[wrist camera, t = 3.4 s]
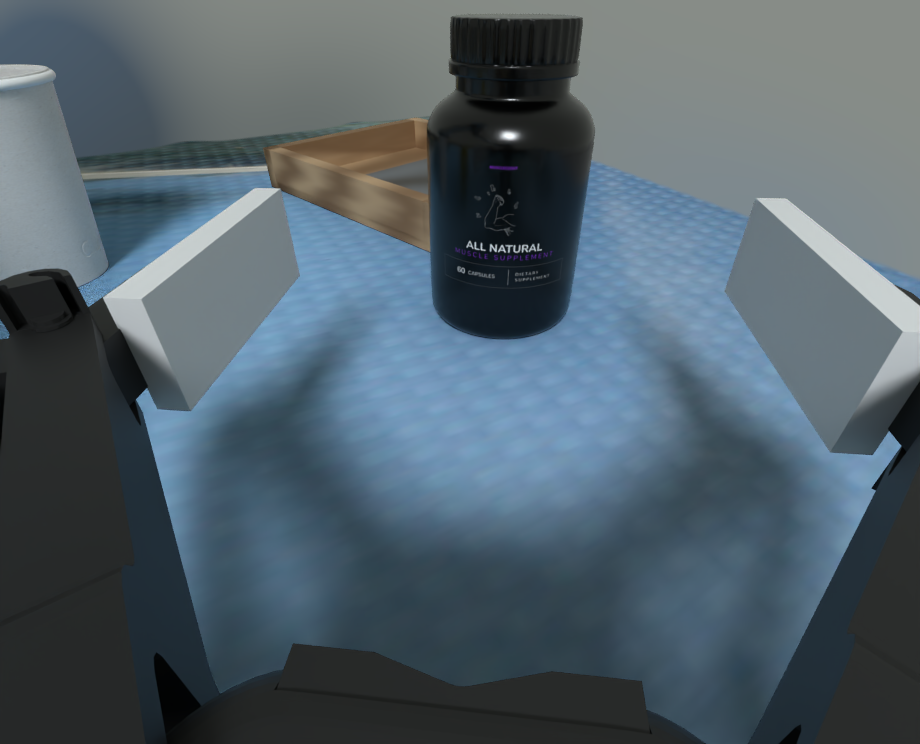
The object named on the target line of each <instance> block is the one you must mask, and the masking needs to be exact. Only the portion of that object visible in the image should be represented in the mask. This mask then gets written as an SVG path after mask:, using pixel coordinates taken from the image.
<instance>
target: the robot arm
mask: <svg viewBox="0 0 920 744" xmlns="http://www.w3.org/2000/svg"><path fill="white" fill-rule="evenodd" d="M299 276H300V274H299V270H298V265H297V261H296V256H295V252H294V247H293V243H292V238H291V234H290V229H289V225H288V220H287V216H286V211H285V207H284V202H283V198H282V193H281V189H276V188H255V189H253V190H252V191H250V192H249V193H248V194H246V195H245V196H243V197H242V198H241V199H239V200H238V201H237V202H235V203H234V204H232V205H231V206H230V207H228V208H227V209H225V210H224V211H223V212H221V213H220V214H218V215H217V216H216V217H214V218H213V219H211V220H210V221H209V222H207V223H206V224H205V225H203V226H202V227H200V228H199V229H198V230H196V231H195V232H193V233H192V234H191V235H189V236H188V237H186V238H185V239H184V240H182V241H181V242H179V243H178V244H177V245H175V246H174V247H172V248H171V249H170V250H168V251H167V252H166V253H164V254H163V255H161V256H160V257H159V258H157V259H156V260H154V261H153V262H152V263H150V264H149V265H147V266H146V267H144V268H143V269H141V270H140V271H138V272H137V273H136V274H134V275H133V276H131V277H130V278H129V279H127V280H126V281H124V282H123V283H122V284H120V285H119V286H118V287H117V288H115V289H113V290H112V291H111V292H109V293H108V294H106V295H105V296H104V297H102V298H101V299H99V300H98V301H97V302H95V303H94V304H92V305H91V306H90V307H88V306H87V304H86V302H85V300H84V299H83V297H82V295H81V293H80V291H79V289H78V287H77V285H76V283H75V281H74V279H73V277H72V275H71V274H70V273H69V272H68V271H67V270H63V269H58V268H57V269H40V270H33V271H28V272H24V273H20V274H17V275H13V276H11V277H8V278H6V279H3V280H1V281H0V319H1V321H2V322H3V324H4V325H5V327H6V329H7V330H8V332H9V333H10V335H9V339H2V340H0V744H706V743H704V742H703V741H701V740H700V739H698V738H697V737H695V736H694V735H693V734H691V733H690V732H688V731H687V730H685V729H684V728H682V727H681V726H679V725H677V724H675V723H673V722H671V721H670V720H668V719H666V718H664V717H662V716H660V715H658V714H656V713H653V712H651V711H648V710H646V704H645V698H644V692H643V686H642V681H636V680H627V679H617V678H608V677H599V676H590V675H580V674H571V673H562V672H553V671H552V672H546V673H540V674H535V675H529V676H523V677H518V678H512V679H506V680H501V681H495V682H489V683H484V684H478V685H472V686H465V687H461V686H454V685H451V684H449V683H446V682H444V681H442V680H439V679H437V678H434V677H432V676H430V675H427V674H425V673H422V672H420V671H418V670H415V669H413V668H411V667H408V666H406V665H403V664H401V663H399V662H396V661H394V660H392V659H389V658H387V657H384V656H382V655H380V654H377V653H375V652H367V651H358V650H349V649H340V648H330V647H321V646H312V645H303V644H293V645H292V648H291V650H290V653H289V656H288V659H287V661H286V664H285V667H284V670H279V671H274V672H271V673H268V674H265V675H261V676H258V677H255V678H252V679H250V680H248V681H246V682H243V683H241V684H239V685H236V686H234V687H232V688H230V689H229V690H227V691H225V692H223V693H222V694H220V693H219V691H218V689H217V687H216V684H215V682H214V680H213V677H212V674H211V671H210V668H209V665H208V661H207V657H206V654H205V650H204V646H203V642H202V638H201V634H200V631H199V627H198V623H197V619H196V615H195V611H194V608H193V604H192V600H191V596H190V592H189V588H188V585H187V581H186V577H185V573H184V569H183V565H182V562H181V558H180V554H179V550H178V546H177V542H176V539H175V535H174V531H173V527H172V523H171V519H170V516H169V512H168V508H167V504H166V500H165V496H164V492H163V489H162V485H161V481H160V477H159V473H158V469H157V466H156V462H155V458H154V454H153V450H152V446H151V443H150V439H149V435H148V431H147V427H146V423H145V420H144V416H143V412H142V410H141V408H140V406H139V405H138V403H137V401H136V399H137V398H138V397H139V395H140V394H141V393H142V392H143V391H144V390H145V389H146V388H148V391H149V393H150V395H151V397H152V399H153V401H154V403H155V405H156V407H157V409H163V410H179V411H191V410H192V409H193V408H194V406H195V405H196V404H197V403H198V401H199V400H200V399H201V398H202V396H203V395H204V394H205V393H206V392H207V390H208V389H209V388H210V387H211V385H212V384H213V383H214V382H215V380H216V379H217V378H218V377H219V375H220V374H221V373H222V372H223V370H224V369H225V368H226V367H227V365H228V364H229V363H230V362H231V360H232V359H233V358H234V357H235V355H236V354H237V353H238V352H239V351H240V349H241V348H242V347H243V346H244V344H245V343H246V342H247V341H248V339H249V338H250V337H251V336H252V334H253V333H254V332H255V331H256V329H257V328H258V327H259V326H260V324H261V323H262V322H263V321H264V319H265V318H266V317H267V316H268V315H269V313H270V312H271V311H272V310H273V308H274V307H275V306H276V305H277V303H278V302H279V301H280V300H281V298H282V297H283V296H284V295H285V293H286V292H287V291H288V290H289V288H290V287H291V286H292V285H293V283H294V282H295V281H296V280H297V279H298V277H299ZM725 293H726V294H727V296H728V297H729V299H730V300H731V302H732V303H733V305H734V306H735V308H736V309H737V311H738V312H739V314H740V315H741V317H742V319H743V320H744V322H745V323H746V325H747V326H748V328H749V329H750V331H751V332H752V334H753V335H754V337H755V338H756V340H757V341H758V343H759V344H760V346H761V348H762V349H763V351H764V352H765V354H766V355H767V357H768V358H769V360H770V361H771V363H772V364H773V366H774V367H775V369H776V370H777V372H778V373H779V375H780V377H781V378H782V380H783V381H784V383H785V384H786V386H787V387H788V389H789V390H790V392H791V393H792V395H793V396H794V398H795V399H796V401H797V402H798V404H799V406H800V407H801V409H802V410H803V412H804V413H805V415H806V416H807V418H808V419H809V421H810V422H811V424H812V425H813V427H814V428H815V430H816V431H817V433H818V435H819V436H820V438H821V439H822V441H823V442H824V444H825V445H826V447H827V448H828V450H829V451H830V452H832V453H848V454H863V455H873V454H874V452H875V451H876V449H877V448H878V446H879V445H880V443H881V442H882V440H883V439H884V437H885V436H886V435H887V433H888V432H889V431H890V432H891V434H892V435H893V436H894V437H895V438H896V440H897V441H898V442H899V443H900V445H901V448H900V449H899V450H898V452H897V453H896V455H895V456H894V457H893V459H892V460H891V462H890V463H889V464H888V466H887V467H886V469H885V470H884V471H883V473H882V474H881V476H880V477H879V478H878V480H877V481H876V483H875V484H874V485H873V487H872V489H874V490H876V492H875V494H874V496H873V498H872V500H871V502H870V504H869V506H868V508H867V510H866V512H865V514H864V516H863V518H862V520H861V522H860V524H859V526H858V528H857V530H856V532H855V534H854V536H853V538H852V540H851V542H850V544H849V546H848V548H847V550H846V551H845V553H844V555H843V557H842V559H841V561H840V563H839V565H838V567H837V569H836V571H835V573H834V575H833V577H832V579H831V581H830V583H829V585H828V587H827V589H826V591H825V593H824V595H823V597H822V599H821V601H820V603H819V605H818V607H817V609H816V611H815V613H814V615H813V617H812V619H811V621H810V623H809V625H808V627H807V629H806V631H805V633H804V635H803V637H802V639H801V641H800V643H799V645H798V647H797V649H796V651H795V653H794V655H793V657H792V659H791V661H790V663H789V665H788V667H787V669H786V671H785V673H784V675H783V677H782V679H781V681H780V683H779V685H778V687H777V689H776V691H775V693H774V695H773V697H772V699H771V701H770V703H769V705H768V707H767V709H766V711H765V713H764V715H763V717H762V719H761V721H760V723H759V725H758V727H757V728H756V730H755V732H754V734H753V736H752V737H751V739H750V741H749V742H748V744H920V299H919V298H918V297H916V296H915V295H914V294H913V293H911V292H909V291H906V290H904V289H902V288H900V287H898V286H896V285H894V284H892V283H891V282H889V281H888V280H887V279H886V278H884V277H883V276H882V275H881V274H879V273H878V272H877V271H876V270H874V269H873V268H872V267H871V266H869V265H868V264H867V263H866V262H864V261H863V260H862V259H861V258H859V257H858V256H857V255H856V254H855V253H853V252H852V251H851V250H849V249H848V248H847V247H846V246H845V245H843V244H842V243H841V242H839V241H838V240H837V239H836V238H835V237H833V236H832V235H831V234H830V233H828V232H827V231H826V230H825V229H823V228H822V227H821V226H820V225H818V224H817V223H816V222H815V221H813V220H812V219H811V218H810V217H808V216H807V215H806V214H805V213H803V212H802V211H801V210H800V209H798V208H797V207H796V206H795V205H793V204H792V203H791V202H790V201H788V200H787V199H777V198H776V199H775V198H756V199H755V202H754V205H753V208H752V211H751V214H750V217H749V220H748V223H747V226H746V229H745V232H744V235H743V238H742V241H741V244H740V247H739V250H738V253H737V256H736V258H735V261H734V264H733V267H732V270H731V273H730V276H729V279H728V282H727V285H726V288H725Z"/></svg>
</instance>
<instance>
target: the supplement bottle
mask: <svg viewBox="0 0 920 744" xmlns="http://www.w3.org/2000/svg"><path fill="white" fill-rule="evenodd" d="M582 19H583V18H581V17H578V16H570V15H551V14H468V15H456V16H452V17H451V22H450V34H451V35H450V41H451V43H450V45H451V47H450V48H451V58H450V59H449V73H450V74H452V75H455V76H456V89H455V91H454V92H453V93H451V94H450V95H449V96H447V97H446V98H445V99H443V100H442V101H441V102H440V103H439V104H438V105H437V106H436V107H435V109H434V110H433V112H432V114H431V116H430V118H429V120H428V124H427V170H428V199H429V229H430V258H431V282H432V298H433V304H434V306H435V309H436V310H437V312H438V313H439V315H440V316H441V317H442V318H443V319H444V320H445V321H446V322H447V323H449V324H450V325H452V326H453V327H455V328H457V329H459V330H461V331H464V332H466V333H469V334H473V335H477V336H481V337H487V338H498V339H511V338H521V337H527V336H531V335H535V334H538V333H541V332H543V331H545V330H547V329H549V328H551V327H552V326H554V325H555V324H556V323H558V322H559V321H560V320H561V319H562V317H563V316H564V315H565V313H566V311H567V309H568V306H569V301H570V296H571V290H572V284H573V278H574V271H575V264H576V258H577V251H578V245H579V238H580V231H581V225H582V218H583V212H584V205H585V198H586V192H587V185H588V178H589V172H590V165H591V159H592V152H593V145H594V136H595V127H594V123H593V119H592V117H591V114H590V112H589V111H588V109H587V108H586V107H585V105H584V104H583V103H582V102H580V101H579V100H578V99H577V98H576V97H574V96H573V95H572V94H571V93H570V81H571V77H574V76H577V75H578V72H579V64H580V61H579V60H578V57H579V50H580V42H581V34H582V26H583V20H582Z"/></svg>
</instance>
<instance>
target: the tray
mask: <svg viewBox="0 0 920 744" xmlns="http://www.w3.org/2000/svg"><path fill="white" fill-rule="evenodd" d="M427 124H428V120H425V119H420V118H411V119H405V120H400V121H395V122H390V123H385V124H380V125H375V126H370V127H365V128H360V129H355V130H350V131H345V132H340V133H335V134H330V135H325V136H320V137H315V138H310V139H305V140H300V141H295V142H290V143H285V144H280V145H275V146H270V147H265V148H263V150H264V154H265V158H266V163H267V167H268V171H269V176H270V180H271V184H272V187H275V188H277V189H281V190H282V191H284V192H287V193H289V194H292V195H294V196H296V197H299V198H301V199H304V200H306V201H308V202H311V203H313V204H316V205H318V206H320V207H323V208H325V209H328V210H330V211H332V212H335V213H337V214H340V215H342V216H344V217H347V218H349V219H352V220H354V221H356V222H359V223H361V224H364V225H366V226H368V227H371V228H373V229H376V230H378V231H381V232H383V233H385V234H388V235H390V236H393V237H395V238H397V239H400V240H402V241H405V242H407V243H409V244H412V245H414V246H417V247H419V248H421V249H424V250H426V251H429V252H430V229H429V199H428V170H427Z"/></svg>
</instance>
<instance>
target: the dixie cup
mask: <svg viewBox="0 0 920 744" xmlns="http://www.w3.org/2000/svg"><path fill="white" fill-rule="evenodd" d="M55 77H56V74H55V73H54V72H53V70H51V69H49V68H48V67H46V66H39V65H0V281H1V280H3V279H6V278H8V277H11V276H13V275H17V274H20V273H24V272H28V271H33V270H40V269H57V268H58V269H63V270H67V271H68V272H69V273H70V274H71V275H72V277H73V279H74V281H75V283H76V285H77V287H79V286H82V285H84V284H86V283H88V282H90V281H92V280H94V279H96V278H98V277H99V276H100V275H102V274H103V273H104V272H105V271H106V270H107V268H108V266H109V263H108V260H107V257H106V254H105V250H104V247H103V244H102V241H101V238H100V234H99V231H98V228H97V224H96V221H95V218H94V215H93V211H92V208H91V205H90V202H89V198H88V195H87V192H86V189H85V185H84V182H83V179H82V176H81V172H80V169H79V166H78V163H77V159H76V156H75V153H74V150H73V147H72V143H71V140H70V137H69V134H68V130H67V127H66V124H65V121H64V117H63V114H62V111H61V107H60V104H59V101H58V98H57V94H56V91H55V88H54V85H53V80H54V79H55Z"/></svg>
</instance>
